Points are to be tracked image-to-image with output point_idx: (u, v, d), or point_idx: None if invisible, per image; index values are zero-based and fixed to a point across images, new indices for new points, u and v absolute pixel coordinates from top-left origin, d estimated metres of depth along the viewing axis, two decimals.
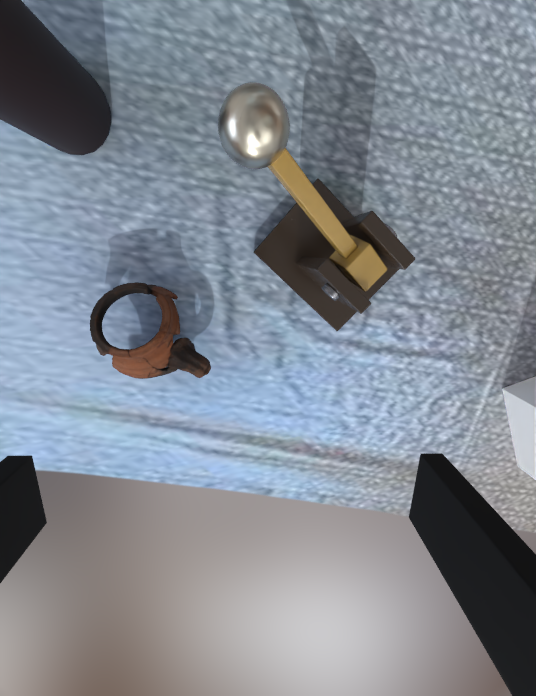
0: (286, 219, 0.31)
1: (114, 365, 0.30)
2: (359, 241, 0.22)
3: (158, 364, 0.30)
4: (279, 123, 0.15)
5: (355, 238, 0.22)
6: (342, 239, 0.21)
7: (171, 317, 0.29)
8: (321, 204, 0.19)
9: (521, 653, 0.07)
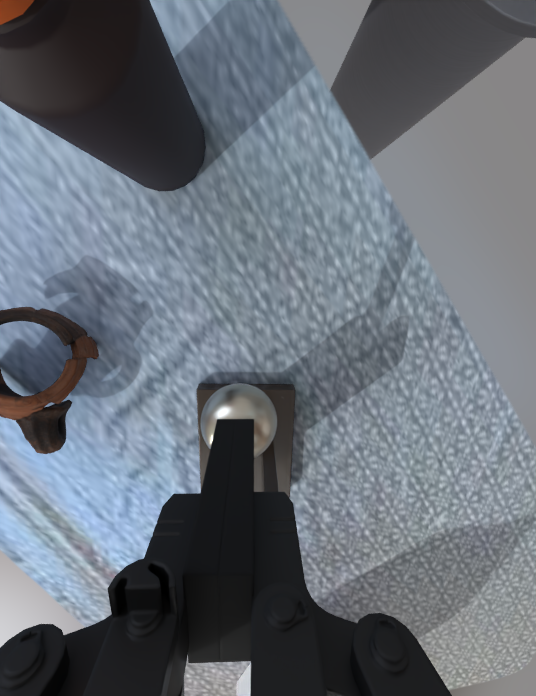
0: None
1: None
2: None
3: (7, 415, 0.24)
4: None
5: None
6: None
7: (63, 389, 0.24)
8: None
9: None
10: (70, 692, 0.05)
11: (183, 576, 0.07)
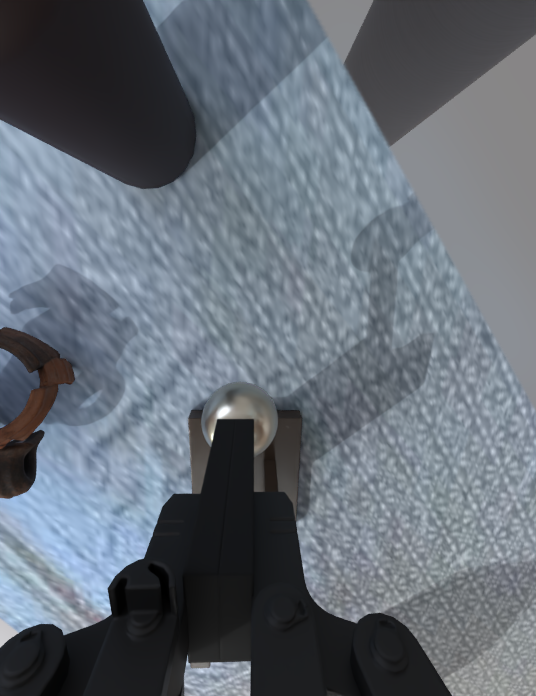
0: None
1: None
2: None
3: None
4: None
5: None
6: None
7: (27, 424, 0.21)
8: None
9: None
10: (70, 692, 0.05)
11: (184, 576, 0.07)
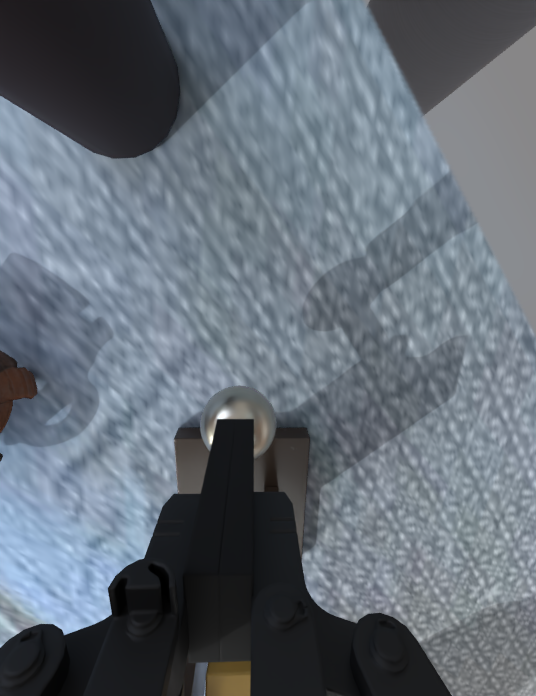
0: None
1: None
2: None
3: None
4: None
5: None
6: None
7: None
8: None
9: None
10: (70, 692, 0.05)
11: (183, 576, 0.07)
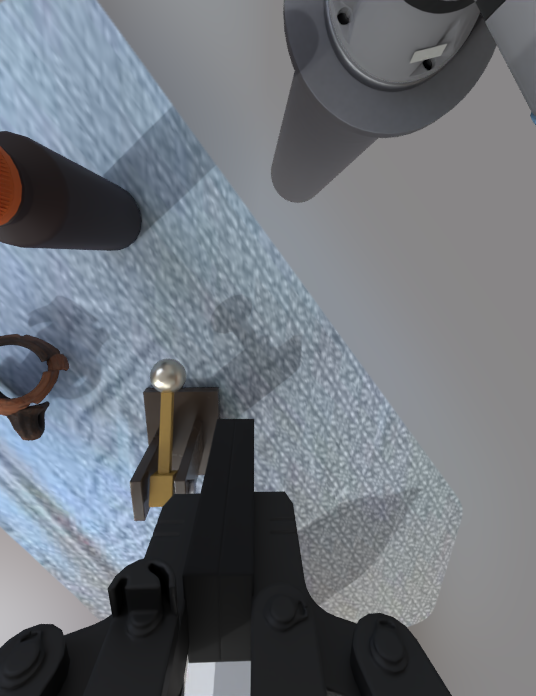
0: (179, 394, 0.39)
1: None
2: (173, 473, 0.32)
3: (0, 412, 0.34)
4: (170, 378, 0.32)
5: (175, 471, 0.32)
6: (164, 459, 0.32)
7: (40, 393, 0.34)
8: (167, 430, 0.32)
9: None
10: (70, 692, 0.05)
11: (183, 576, 0.07)
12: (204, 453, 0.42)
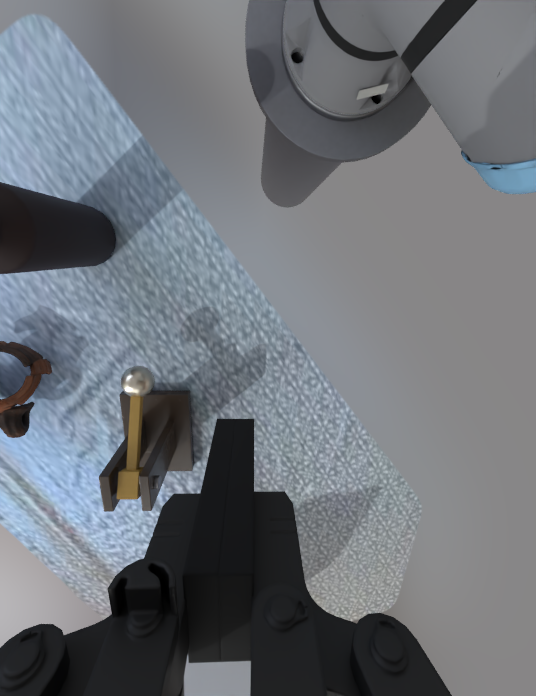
0: (153, 396, 0.43)
1: None
2: (140, 469, 0.35)
3: None
4: (138, 384, 0.35)
5: (142, 468, 0.36)
6: (132, 457, 0.35)
7: (24, 395, 0.38)
8: (136, 430, 0.35)
9: None
10: (70, 692, 0.05)
11: (184, 576, 0.07)
12: (177, 451, 0.45)
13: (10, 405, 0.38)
